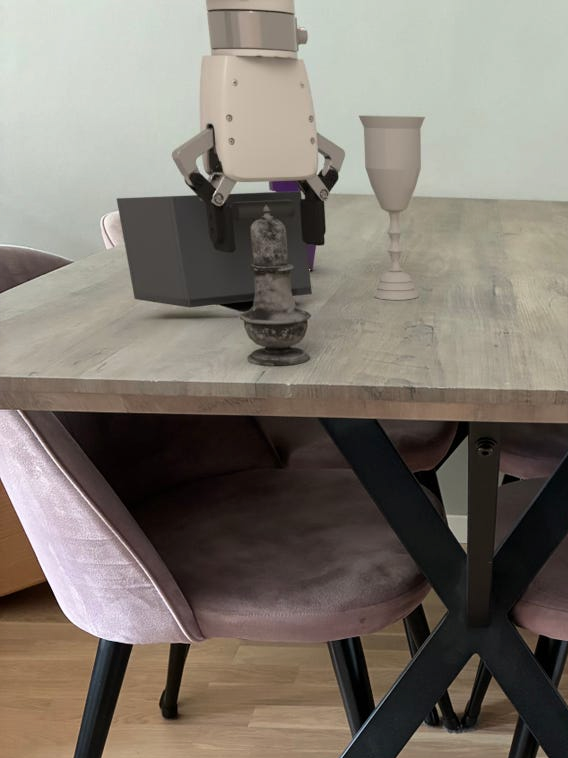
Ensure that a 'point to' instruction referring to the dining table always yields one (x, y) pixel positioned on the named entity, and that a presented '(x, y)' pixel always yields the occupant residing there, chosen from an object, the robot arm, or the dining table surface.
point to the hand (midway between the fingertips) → (270, 247)
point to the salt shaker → (273, 298)
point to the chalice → (393, 185)
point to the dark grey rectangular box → (204, 248)
